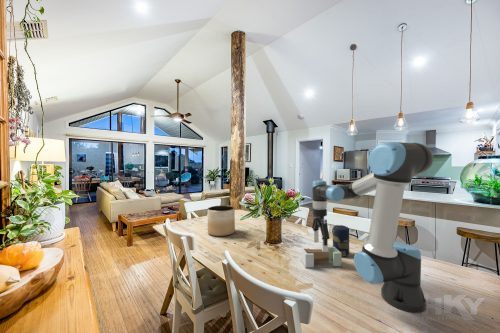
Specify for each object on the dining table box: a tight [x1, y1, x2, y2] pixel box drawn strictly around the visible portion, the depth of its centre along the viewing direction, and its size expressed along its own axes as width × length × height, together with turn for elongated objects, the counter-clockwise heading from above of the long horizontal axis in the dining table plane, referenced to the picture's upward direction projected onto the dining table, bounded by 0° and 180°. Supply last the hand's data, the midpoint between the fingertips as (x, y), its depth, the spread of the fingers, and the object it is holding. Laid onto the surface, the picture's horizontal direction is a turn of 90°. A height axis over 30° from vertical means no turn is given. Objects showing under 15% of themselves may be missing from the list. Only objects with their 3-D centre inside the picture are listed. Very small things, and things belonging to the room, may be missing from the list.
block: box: [305, 248, 329, 265], centre depth 122 cm, size 4×12×7 cm, turn 88°
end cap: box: [328, 246, 343, 266], centre depth 122 cm, size 9×4×7 cm, turn 2°
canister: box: [332, 224, 350, 257], centre depth 134 cm, size 10×10×18 cm
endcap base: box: [300, 247, 343, 269], centre depth 122 cm, size 9×20×7 cm, turn 92°
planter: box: [207, 204, 236, 237], centre depth 176 cm, size 22×22×20 cm
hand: (320, 246), depth 121 cm, fingers open, 13 cm apart
